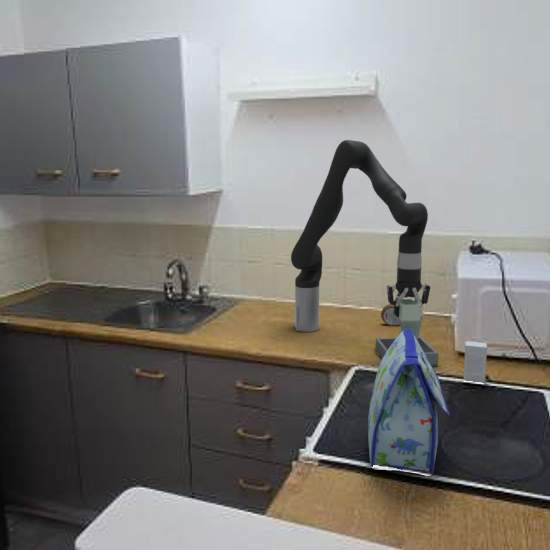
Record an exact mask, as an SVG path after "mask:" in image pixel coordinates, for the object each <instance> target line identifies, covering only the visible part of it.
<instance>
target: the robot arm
mask: <svg viewBox="0 0 550 550" xmlns="http://www.w3.org/2000/svg"><path fill="white" fill-rule="evenodd" d="M350 169H358V170H359V171H361V172H362V173H364V174H365V175H366V176H367V177H368V178H369V181H370V182H371V185H372V188H373V191H374V192H375V193H376V195H377V196H378V197H379V198H380V199H381V201H382V202H384V204H385V205H386V206H387V207H388V209H389V212H390V214H391V217H393V219H394V220H395V222H396V223H397V224H398V225H400V226H402V227H407V228H406V231H405V232H404V233H401V234H400V236H399V238H398V253H397V255H398V256H397V262H396V266H397V267H396V283H395V284H394V285H389V284H388V285H386V294H387V301H388V303H389V304H391V305H394V315H395V316H396V317H399V309H400V307H399V305H400V303H401V301H402V300H403V299H406V298H413V299H414V300H415V301H417V302H418V303H419V304H421V307H422V306H423V305H427V304H428V302H429V296H430V291H431V285H429V284H427V283H425V284H422V282H421V281H422V263H423V260H422V259H423V257H422V248H423V247H422V245H423V243H422V242H423V241H422V240H423V237H424V234H425V231H426V227H427V223H428V220H429V217H428V216H429V212H428V210H427V209H428V208H427V207H426V206H425V205H424V204H423V203H422V202H411V203H410V202H408V203H407V201H406V199H407V193H406V191H405V190H404V189H403V188H402V187H401V186H400V185H399V184H398V183H397V181H395V180H394V179H393V178H392V177H391V175H389V173H388V172H387V171H386V170H385V168H384V167H383V166H382V164H381V162H380V161H379V160H378V159H377V156H376V155H375V154H374V153H373V151H372V149H371V148H370V147H369V145H368V144H366V143H365V142H363V141H359V140H358V141H357V140H351V139H346V140H345V139H344V140H342V141H341V142H340V143H339V144H338V146H337V148H336V149H335V151H334V155H333V157H332V161H331V164H330V166H329V170H328V173H327V176H326V178H325V181H324V183H323V185H322V188H321V191H320V193H319V195H318V196H317V198H316V202H315V204H314V206H313V208H312V210H311V213H310V215H309V218H308V220H307V222H306V225H305V227H304V229H303V231H302V233H301V234H300V236H299V238H298V240H297V242H296V243H295V245H294V246H293V249H292V251H291V254H290V255H291V256H290V261H291V264H292V266H293V267H294V269H296V270H299V271H300V272H299V274H298V275H297V276H296V278H295V282H294V283H295V284H294V286H295V287H294V293H295V294H294V297H295V298H294V299H295V300H294V329H295V331H296V332H304V333H305V332H307V333H310V332H311V333H312V332H317V331H318V330H320V282H321V280H322V274H323V251H322V250H321V247H320V246H319V245H318V244H319V242H320V240H321V239H322V237H323V236H324V235H325V234H326V233H328V231H329V230H330V228H332V226H333V225H334V224H335V223H336V221H337V219H338V216H339V215H340V212H341V211H342V207H343V204H344V187H343V186H344V181H345V179H346V176H347V174H348V172H349V171H350ZM395 290H397V294H396V297H395V299H394V293H395ZM420 291H422V295H421V297H420V294H419V292H420Z"/></svg>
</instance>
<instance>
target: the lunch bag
mask: <svg viewBox="0 0 550 550" xmlns="http://www.w3.org/2000/svg"><path fill="white" fill-rule="evenodd" d="M395 338H396V339H395V340H394V342H393V343H392V344H391V346H390V347H389V348H388V350H387V351H386V353H385V355H384V357H383V359H381V361H380V364H379V365H378V368H377V372H376V376H375V379H374V383H373V388H372V392H371V393H372V394H371V399H370V404H369V411H368V418H367V419H368V420H367V435H368V437H367V440H368V451H369V452H368V453H369V463H370V467H371V466H372V467H373V465H379V466H388V467H394V468H397V469H401V470H402V469H409V470H411V469H412V470H419V469H420V470H425V471H430V472H431V473H432V474H433V475H434V469H435V465H436V456H437V451H438V450H437V449H438V443H439V423H438V412H437V407H436V406H437V405H436V404H438V406H439V407H440V409H441V410H442V411H443V412H444V413H445V414H446V415H447V416H451V413H450V412H449V409H448V406H447V402H446V400H445V397H444V393H443V390H442V387H441V383H440V379H439V376H438V374H437V372H436V371H435V369H434V367H432V366H431V365H430V363H429V361H428V359H427V357H426V355H425V353H424V352H423V350H422V348H421V346H420V344H419V343H418V341H417V339H416V337H415V334H414V333H412V332H411V331H410V330H409V329H405V330H402V331H401V330H400V332H399V334H398V335H397V336H396V337H395Z"/></svg>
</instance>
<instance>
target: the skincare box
mask: <svg viewBox="0 0 550 550" xmlns="http://www.w3.org/2000/svg"><path fill="white" fill-rule="evenodd" d="M464 343H465V344H464V362H463V363H464V364H463V365H464V366H463V380H466V381H473V382H482V383H485V384H486V372H487V371H486V370H487V355H488V353H487V352H488V345H487V342H480V341H479V342H477V341H467V340H466V341H464Z"/></svg>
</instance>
